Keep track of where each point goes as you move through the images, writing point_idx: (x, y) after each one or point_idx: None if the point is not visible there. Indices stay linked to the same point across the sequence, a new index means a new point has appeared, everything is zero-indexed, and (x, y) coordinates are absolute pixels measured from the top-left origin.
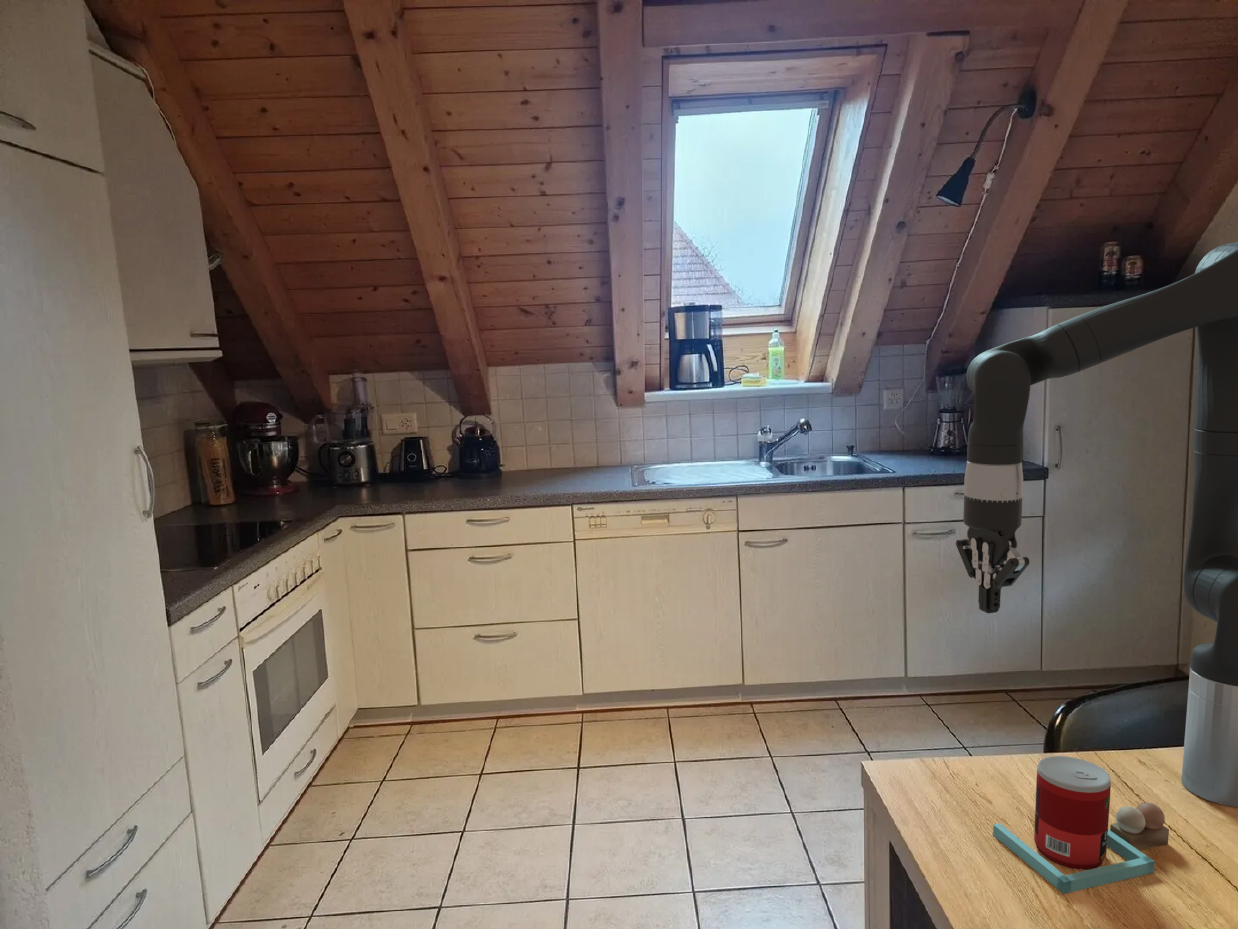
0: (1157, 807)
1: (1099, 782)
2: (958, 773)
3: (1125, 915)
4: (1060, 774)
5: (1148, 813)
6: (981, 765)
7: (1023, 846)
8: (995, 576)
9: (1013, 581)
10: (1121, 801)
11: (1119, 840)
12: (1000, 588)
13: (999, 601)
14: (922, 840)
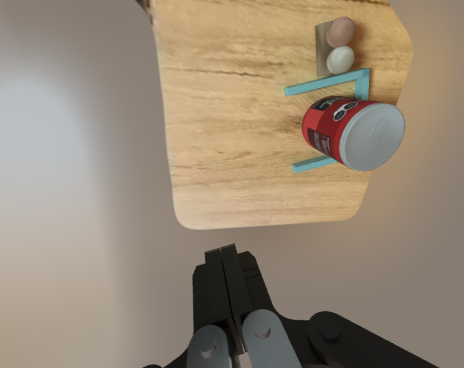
0: (352, 25)
1: (396, 123)
2: (199, 161)
3: None
4: (368, 152)
5: (350, 40)
6: (184, 133)
7: (325, 163)
8: (229, 363)
9: (372, 339)
10: (265, 15)
11: (339, 80)
12: (279, 315)
13: (260, 272)
14: (287, 216)
